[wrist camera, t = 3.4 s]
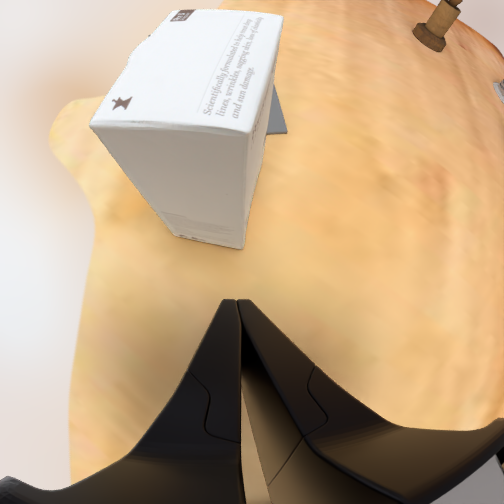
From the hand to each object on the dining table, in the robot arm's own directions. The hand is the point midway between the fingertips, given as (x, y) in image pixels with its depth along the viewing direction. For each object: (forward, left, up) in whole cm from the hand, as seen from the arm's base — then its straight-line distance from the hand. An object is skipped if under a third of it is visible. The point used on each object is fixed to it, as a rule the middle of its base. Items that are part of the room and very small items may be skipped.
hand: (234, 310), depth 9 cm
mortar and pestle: (+55, -13, -13) cm, 57 cm away
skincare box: (+8, +5, -13) cm, 16 cm away
